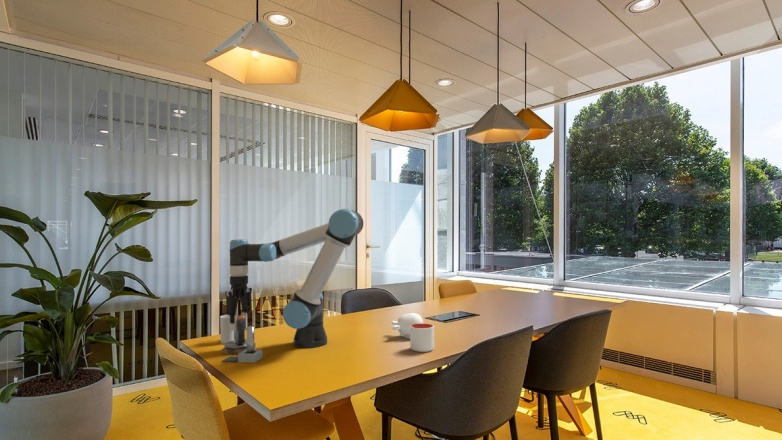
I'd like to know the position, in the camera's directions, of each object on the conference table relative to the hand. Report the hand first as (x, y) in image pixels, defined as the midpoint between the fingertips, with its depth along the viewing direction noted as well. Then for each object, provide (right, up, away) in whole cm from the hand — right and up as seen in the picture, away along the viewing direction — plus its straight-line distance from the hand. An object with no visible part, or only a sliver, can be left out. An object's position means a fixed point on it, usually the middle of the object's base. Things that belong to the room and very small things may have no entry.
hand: (239, 329), depth 187 cm
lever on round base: (0, -7, 0) cm, 7 cm away
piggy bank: (+73, -9, +19) cm, 76 cm away
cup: (+79, -8, -3) cm, 79 cm away
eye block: (+9, -9, -14) cm, 19 cm away
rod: (+9, -9, -14) cm, 19 cm away
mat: (+2, -9, -14) cm, 16 cm away
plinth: (0, -9, 0) cm, 9 cm away
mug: (-11, -10, +15) cm, 21 cm away
